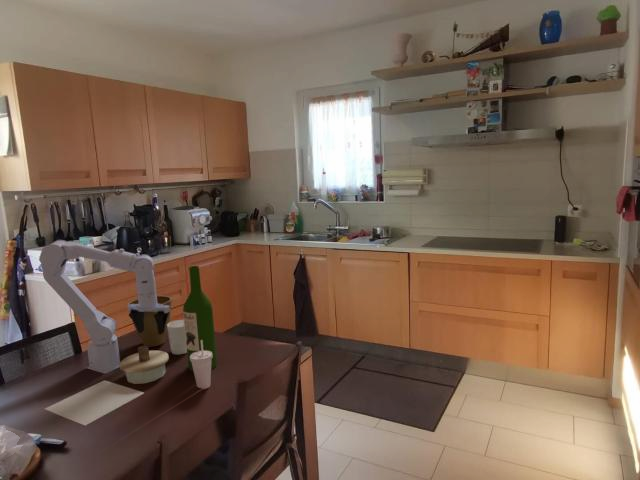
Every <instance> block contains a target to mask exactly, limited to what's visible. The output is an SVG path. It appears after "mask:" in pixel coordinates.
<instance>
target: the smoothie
mask: <svg viewBox="0 0 640 480" xmlns="http://www.w3.org/2000/svg"><path fill="white" fill-rule="evenodd" d="M212 357H213V356H212V352H210V351H203V340H201V351H197V352H194V353H192V354H191V355H190V361H191V362H192V366H193V371H192V372H193V375H194V378H195V379H194V380H195V383H196V387H197V388H199V389H200V390H206V389H209V388H210V387H211V382H212V381H211V377H212V369H211V358H212Z"/></svg>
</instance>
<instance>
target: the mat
mask: <svg viewBox="0 0 640 480" xmlns="http://www.w3.org/2000/svg"><path fill="white" fill-rule="evenodd" d="M144 394H145V392H143V391H140V390H137V389H134V388H130V387H127V386H124V385H121V384H118V383H114V382H112V381H109V380H106V379H105V380H102V381H100V382H98V383H95V384H93V385H92V386H89V387H87V388H86V389H85V388H84V390H80V391H79V392H77V393H75V394H72V395H71V396H69V397H65V398H64V399H62V400H60V401H58V402H56V403H54V404H52V405H49V406H47V407H45V408H44V410H46V411H48V412H50V413H52V414H54V415H58V416H60V417H62V418H65V419H67V420H70V421H72V422H75V423H77V424H80V425H82V426H88V425H89V424H91V423H93V422H95V421H97V420H98V419H101V418H102V417H104V416H105V415H108V414H110V413H111V412H113V411H115V410H117V409H118V408H120V407H122V406H124V405H125V404H127V403H129V402H131V401H133V400H134V399H136V398H139V397H140V396H142V395H144Z"/></svg>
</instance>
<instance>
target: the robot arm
mask: <svg viewBox="0 0 640 480" xmlns="http://www.w3.org/2000/svg"><path fill="white" fill-rule="evenodd" d="M39 255H40V256H39V259H38V260H39V262H40V264H41V270H42V276H43V279H44V281H45V282H46V283H47V284H48V285H49V286H50V287H51V288H52V289H53V290H54V292H55V293H56V294H57V295H58V296H59V297H60V298H61V300H63V301H64V303H66V305H67V306H68V307H69V308H70V309H71V310H72V312H74V314H75V315H76V316H77V317H78V318H79V319H80V320H82V322H83V324H84V328H85V331H86V332H87V333H88V334H89V337H90V338H89V339H90V343H88V346H87V349H86V350H87V357H88V358H87V359H88V364H89V365H88V366H87V367H86V368H87V369H88V370H90V371H91V370H92V371H95V372H98V373H101V374H108V373H110V372H112V371H114V370H117V369H118V368H119V369H120V362H121V361H122V360H121V357H120V351H119V344H118V337H117V335H116V334H115V332H116V330H117V327H118V326H117V322H116V321H115V320H114V319H113V318H112V317H109V316H107V315H106V314H105V313H104V312H102V311H100V310H98V309H97V307H95V306H94V304H93V303H92V302H91V301H90V300H89V299H88V298H87V297H86V295H85V294H84V293H83V292H82V291H81V290H80V289H79V288H78V287H77V286H76V285H75V283H74V282H73V281H72V280H71V278H69V277H68V276H67V274H66V273H65V270H66V266H67V262H68V261H69V260H73V259H76V258H84V259H89V260H95V261H101V262H104V263H105V262H106V263H107V264H108V266H109V267H110V268H114V269H119V270H122V271H127V272H131V273H133V272H134V273H135V278H136V280H135V282H136V292H137V299H138V302H139V304H130V305H128V304H127V312H129V311H131V313H130V312H129V313H128V317H129V318H130V319H131V320H133V321H132V323H133V322H134V323H135V325H136V328H137V330H138V332H139V333H141V332H143V331H144V311H146V312H158V313H157V314H155V315H154V317H155V320H156V323H157V327H158V333H159V334H162V333H164V329H165V324H166V320H167V317H168V315H169V313H170V306H167V305H162V304H158V303H157V296H158V295H157V285H156V278H155V272H154V267H155V262H154V259H153V258H152V256H150V255H148V254H146V253H145V254H140V253H138V252H136V253H133V252H129V251H125V249H124V248H120V249H114V250H112V251H107V250H103V249H101V248H97V247H93V246H90V245H86V244H82V243H78V242H76V241H67V240H63V239H57V240H55V241H53V242H52V243H49V244H47V245H45V246H44V247H43V248H42V249H41V252H40V254H39Z"/></svg>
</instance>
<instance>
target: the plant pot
mask: <svg viewBox="0 0 640 480" xmlns="http://www.w3.org/2000/svg"><path fill="white" fill-rule="evenodd" d="M157 303H158V304H162V305H167V306H170V313H169V315H168V317H167V320H166V324H165V329H164V333H162V334H159V333H158V327H157V323H156V320H155V317H154V315H155V314H157V313H158V312H146V311H144V331H143V332H141V333H139V332H138V330H137V328H136V325H135V323H134V322H133V320H132V319H131V320H132V324H133V326H134V329H135V330H136V334H137V335H138V337H139V339H140V341H141V342H142V344H143V346H148V348H149V347H151V348H152V347H157V346H161V345H162V344H163V345H164V343H165V342H166V340H167V337H168V330H167V324H168V323H170V322H171V313H172V297H171V296H168V295H157ZM130 304H139V302H138V298H137V299H134V300H132V301H130V302H128V303H127V306H128V305H130ZM128 312H129V314H130V313H131V311H128Z"/></svg>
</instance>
